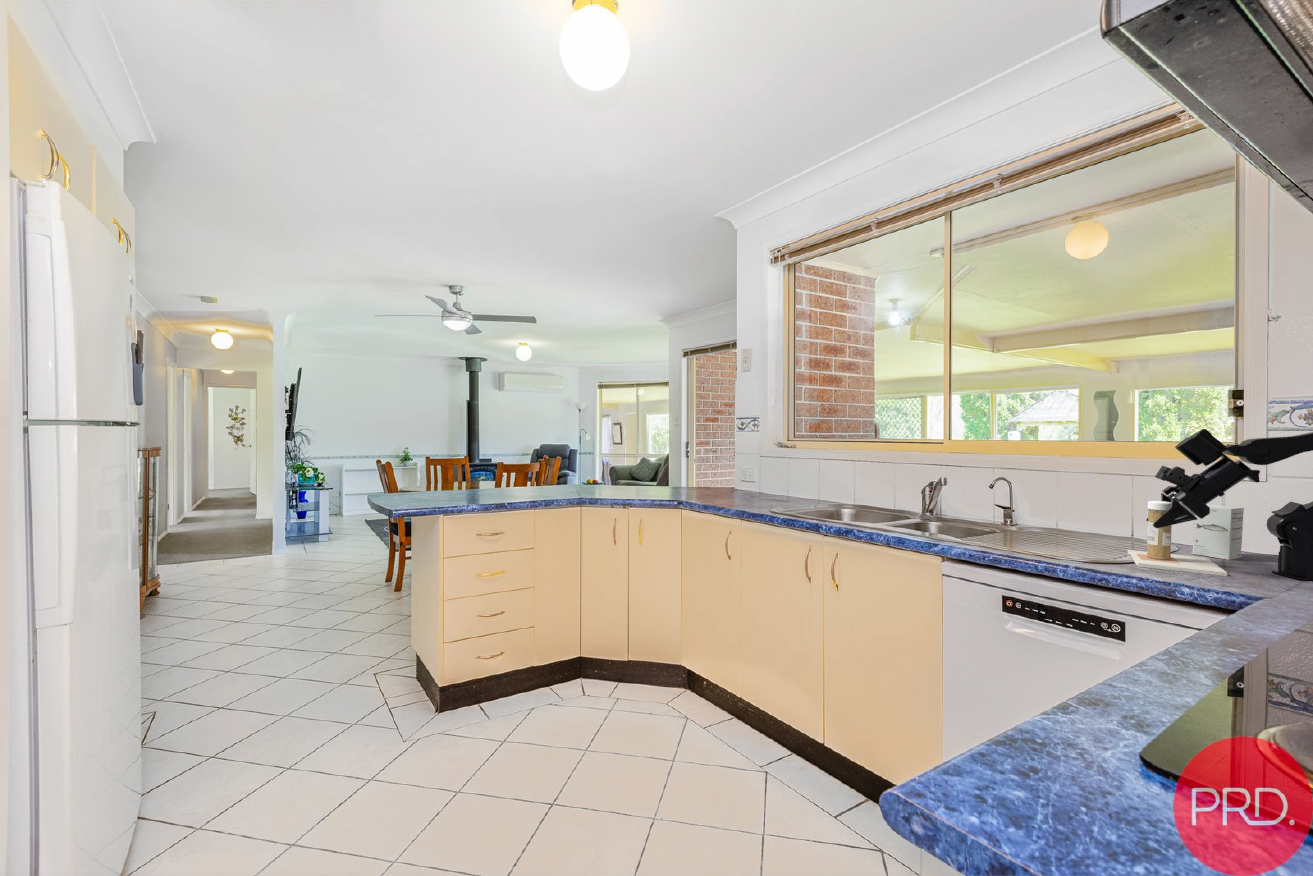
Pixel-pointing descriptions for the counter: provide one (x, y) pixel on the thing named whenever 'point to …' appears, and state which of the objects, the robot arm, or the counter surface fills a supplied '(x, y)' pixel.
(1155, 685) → the counter surface
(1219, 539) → the supplement box
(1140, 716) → the counter surface
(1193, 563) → the mat
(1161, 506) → the sprinkles bottle
